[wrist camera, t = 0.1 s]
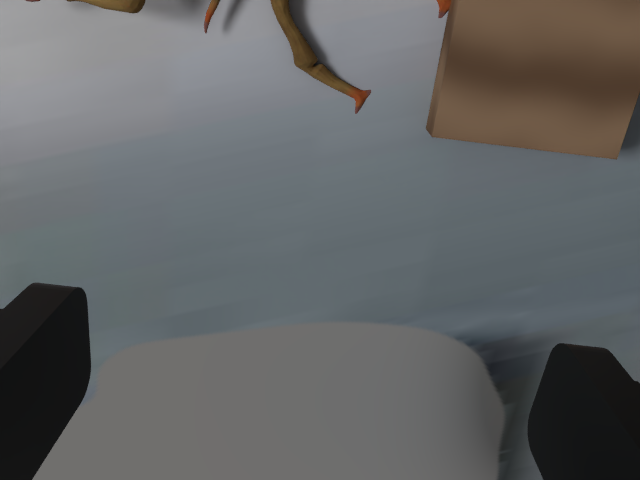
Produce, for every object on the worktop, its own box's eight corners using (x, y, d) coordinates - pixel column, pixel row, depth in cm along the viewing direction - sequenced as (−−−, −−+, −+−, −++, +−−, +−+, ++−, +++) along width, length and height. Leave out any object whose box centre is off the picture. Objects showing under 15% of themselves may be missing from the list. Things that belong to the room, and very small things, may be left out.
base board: (457, -35, 33) (466, -39, 31) (651, -10, 33) (674, -12, 31) (425, 129, 37) (431, 136, 34) (599, 149, 37) (616, 159, 35)
